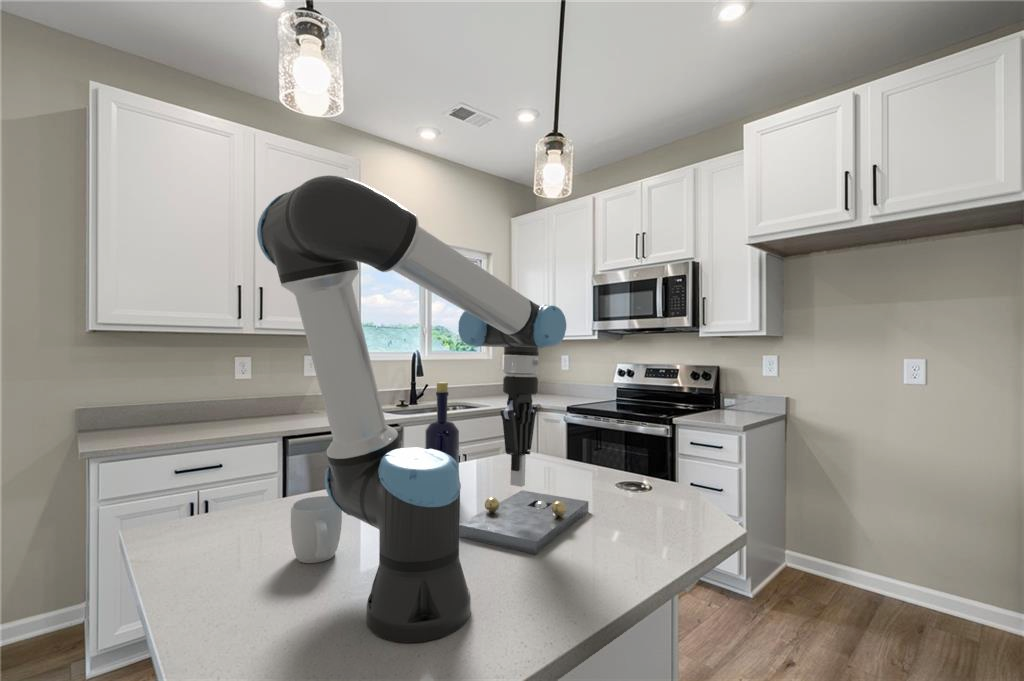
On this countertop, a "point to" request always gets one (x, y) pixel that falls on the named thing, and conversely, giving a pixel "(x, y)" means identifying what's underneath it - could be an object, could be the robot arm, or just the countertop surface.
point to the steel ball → (541, 505)
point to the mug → (315, 528)
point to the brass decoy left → (491, 504)
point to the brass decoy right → (558, 508)
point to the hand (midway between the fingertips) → (517, 485)
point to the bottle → (443, 428)
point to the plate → (523, 522)
